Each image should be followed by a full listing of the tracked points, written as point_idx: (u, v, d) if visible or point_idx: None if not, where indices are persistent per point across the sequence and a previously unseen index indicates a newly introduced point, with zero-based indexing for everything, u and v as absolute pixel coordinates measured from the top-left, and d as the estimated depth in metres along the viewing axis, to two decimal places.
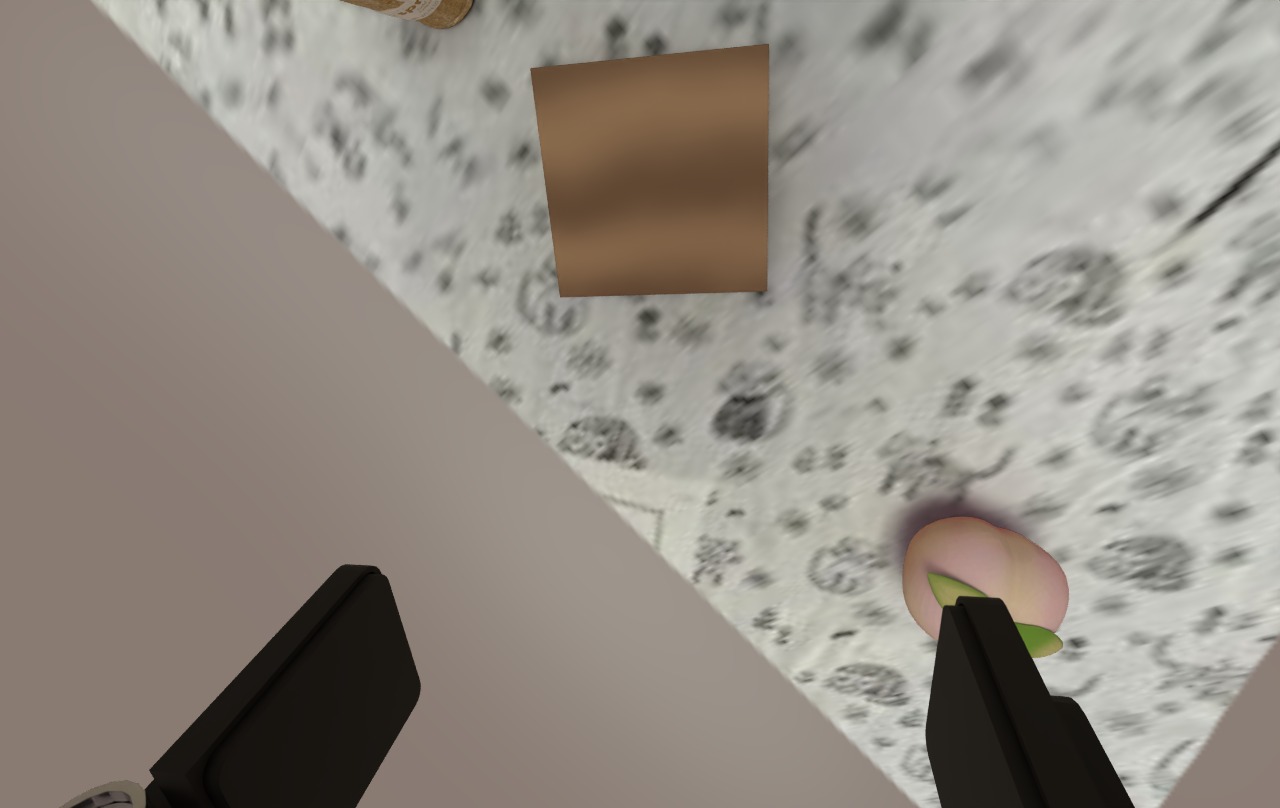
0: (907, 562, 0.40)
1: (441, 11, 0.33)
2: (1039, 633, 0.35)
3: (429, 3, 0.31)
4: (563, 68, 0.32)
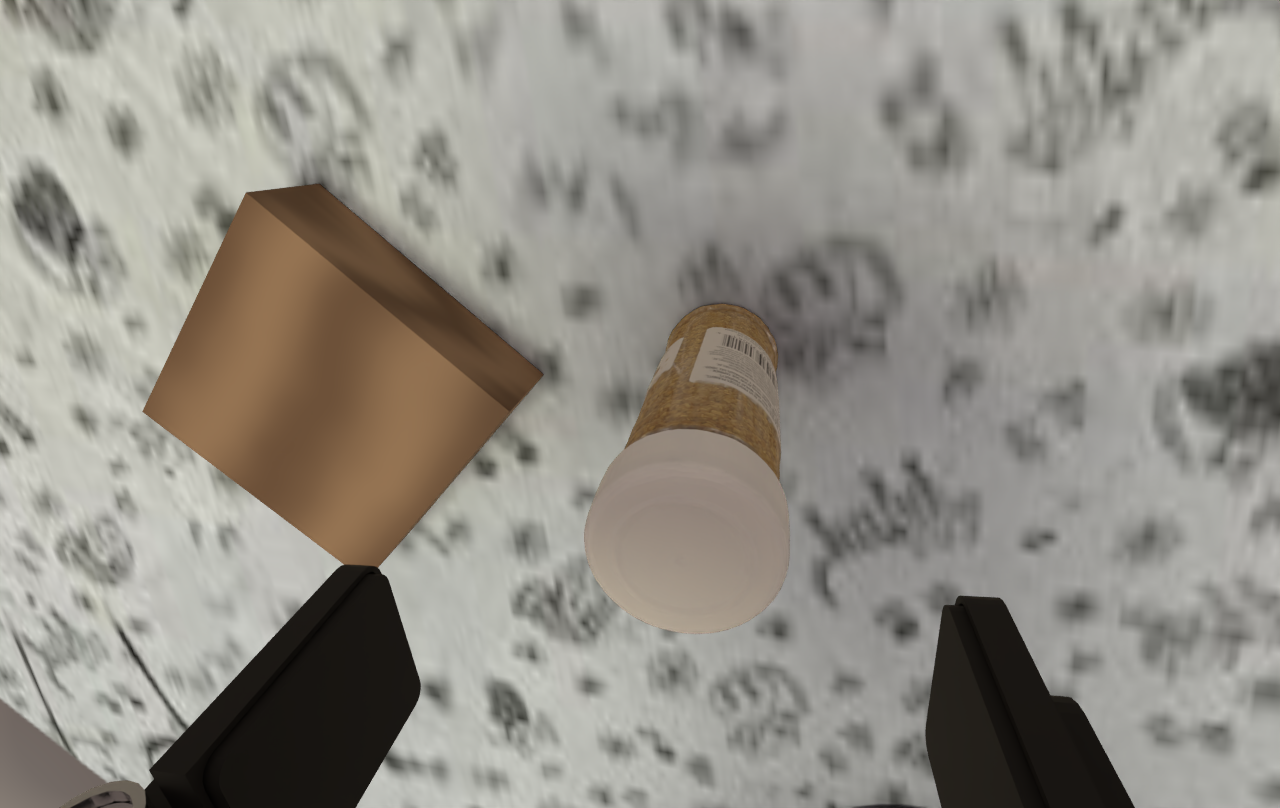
0: None
1: None
2: None
3: None
4: (481, 438, 0.24)
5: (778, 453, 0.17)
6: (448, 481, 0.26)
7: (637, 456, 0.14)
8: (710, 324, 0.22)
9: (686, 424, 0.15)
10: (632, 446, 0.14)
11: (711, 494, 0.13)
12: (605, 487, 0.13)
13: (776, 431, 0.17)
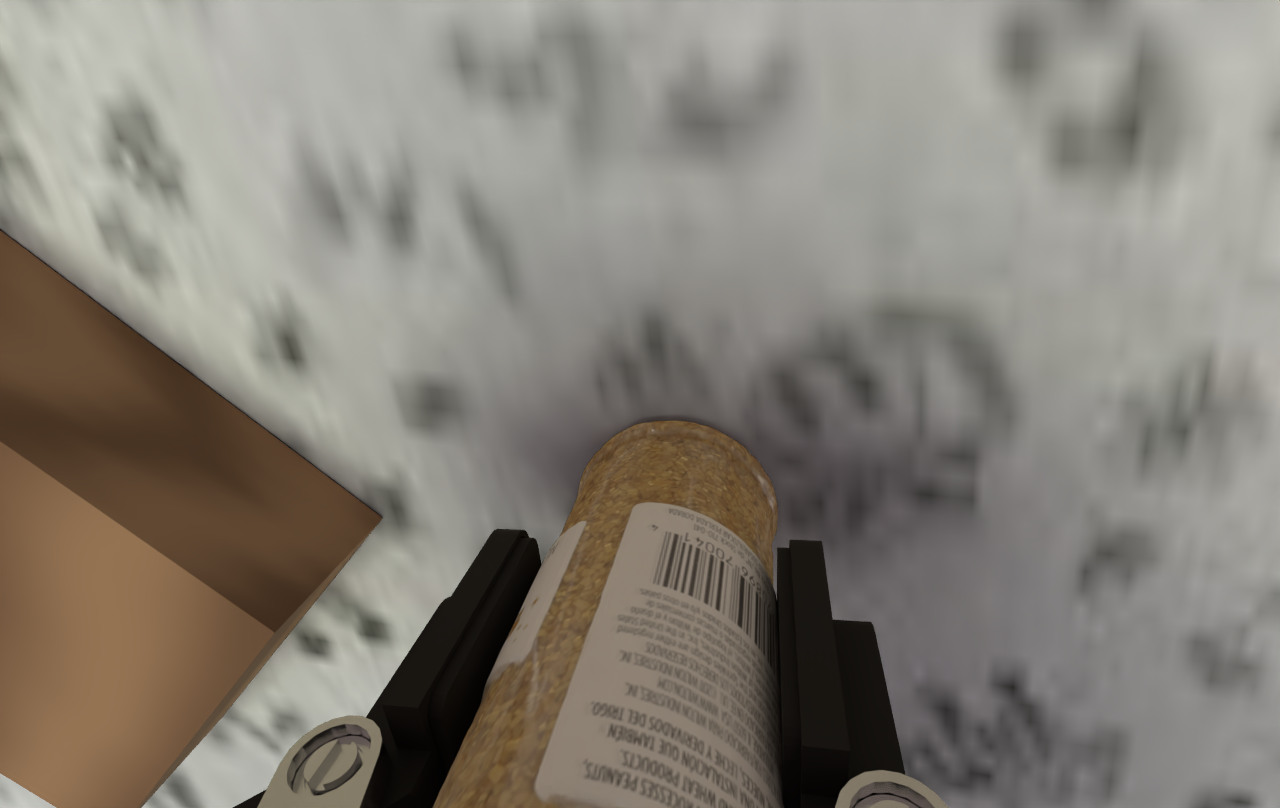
0: None
1: None
2: None
3: None
4: (237, 668, 0.13)
5: None
6: (198, 725, 0.15)
7: None
8: (644, 486, 0.11)
9: None
10: None
11: None
12: None
13: None
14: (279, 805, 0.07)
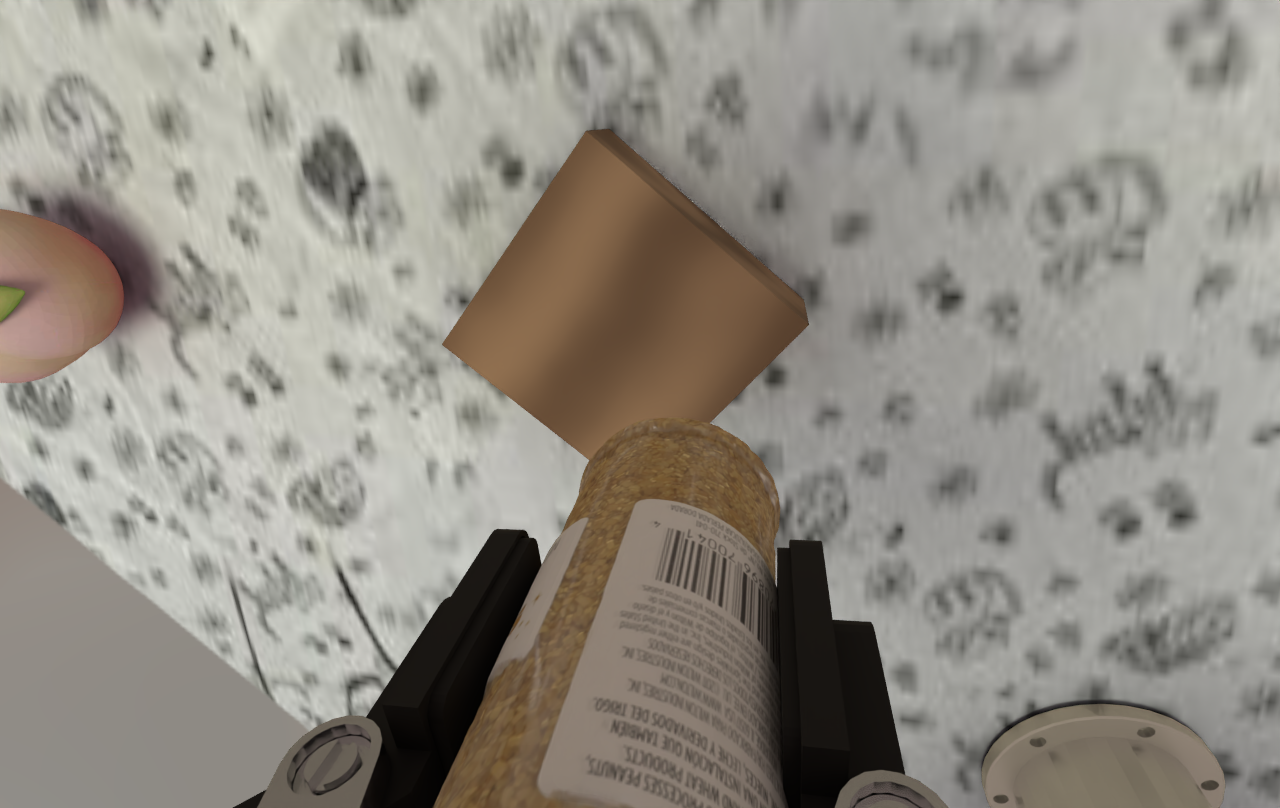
0: (59, 249, 0.31)
1: None
2: None
3: None
4: (776, 351, 0.27)
5: None
6: (735, 394, 0.28)
7: None
8: (646, 483, 0.11)
9: None
10: None
11: None
12: None
13: None
14: (279, 805, 0.07)
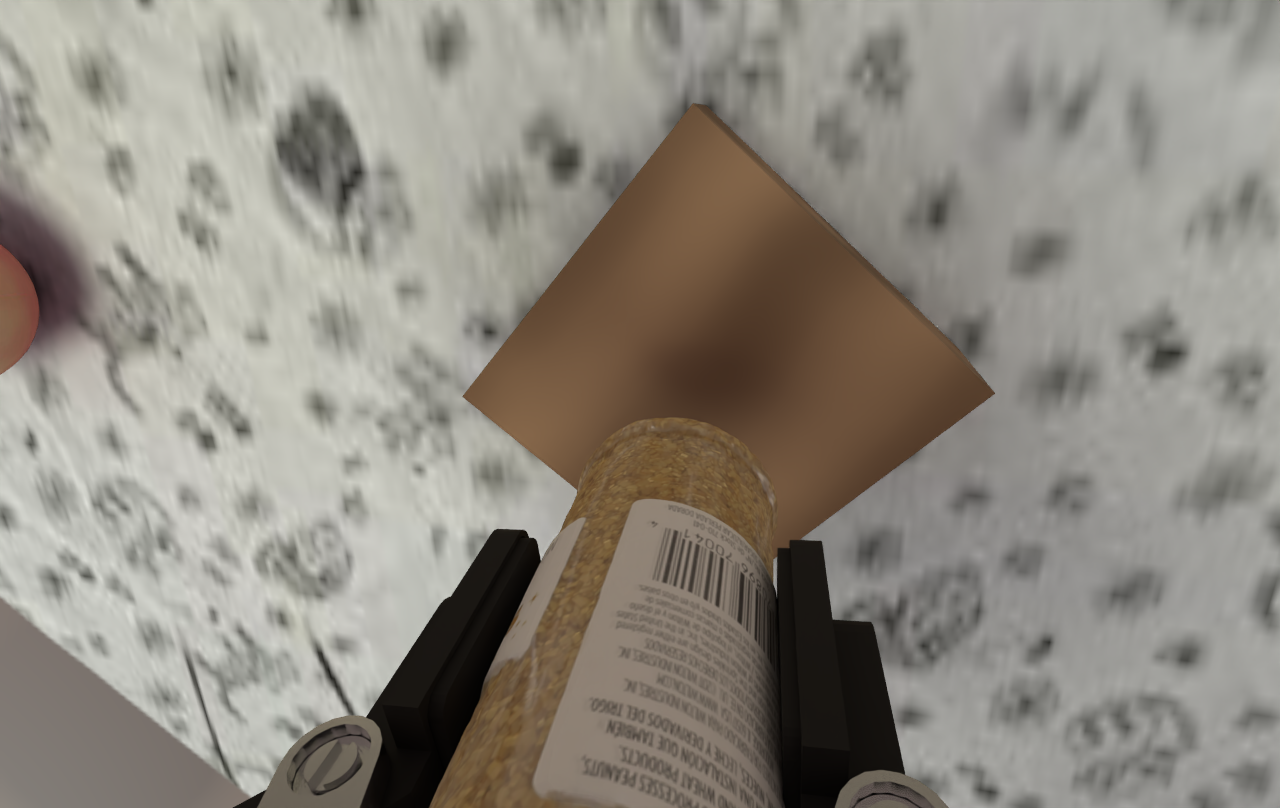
0: None
1: None
2: None
3: None
4: (941, 427, 0.19)
5: None
6: (873, 482, 0.20)
7: None
8: (643, 483, 0.11)
9: None
10: None
11: None
12: None
13: None
14: (279, 805, 0.07)
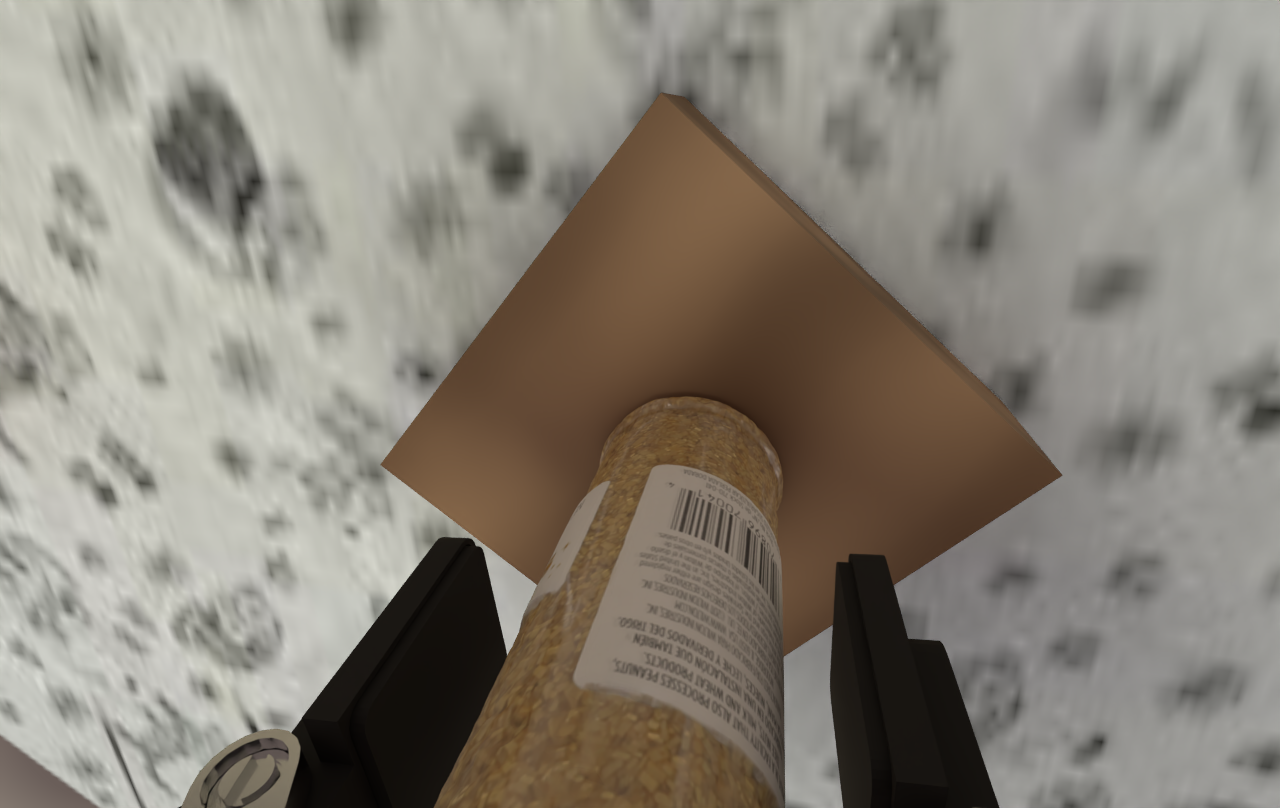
0: None
1: None
2: None
3: None
4: (989, 515, 0.15)
5: None
6: (898, 578, 0.16)
7: None
8: (661, 452, 0.12)
9: None
10: None
11: None
12: None
13: (774, 795, 0.07)
14: None
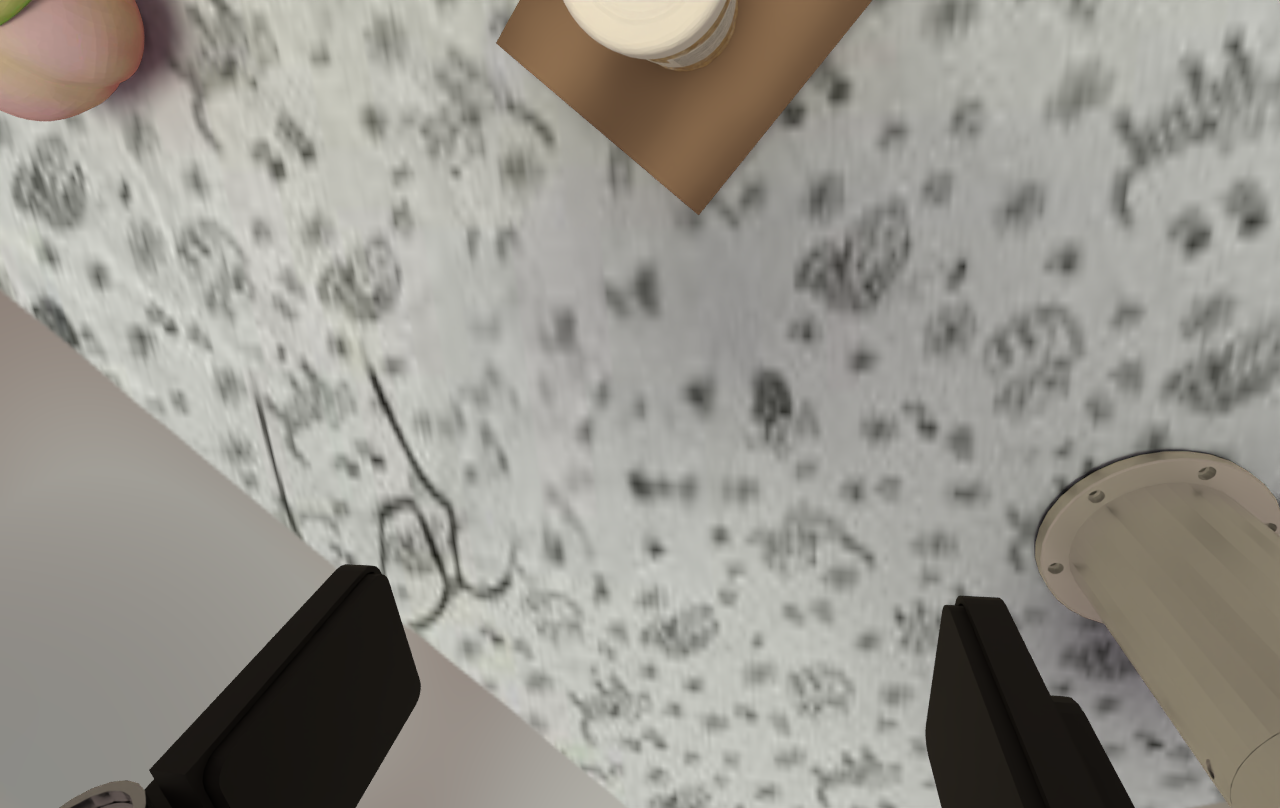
0: None
1: None
2: None
3: None
4: (855, 15, 0.26)
5: None
6: (809, 75, 0.27)
7: None
8: None
9: None
10: None
11: None
12: None
13: None
14: None
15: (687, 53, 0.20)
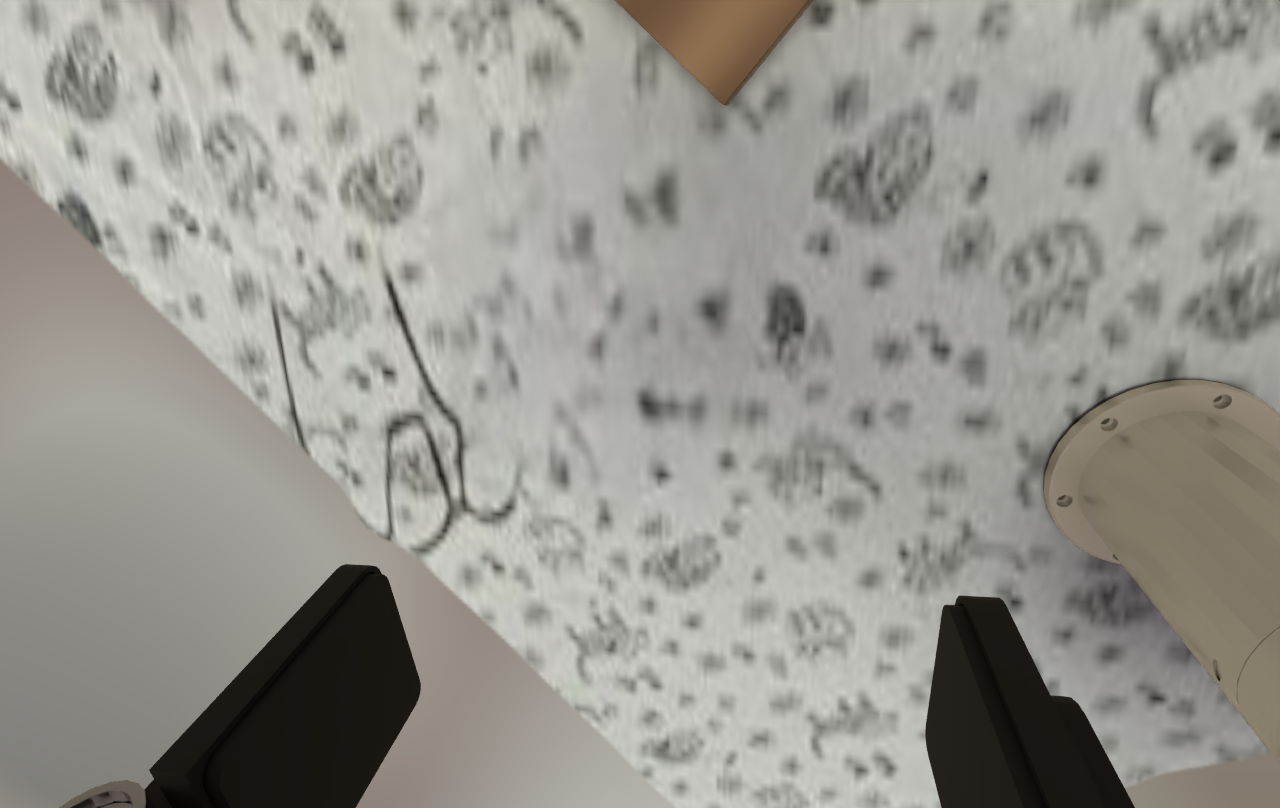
0: None
1: None
2: None
3: None
4: None
5: None
6: None
7: None
8: None
9: None
10: None
11: None
12: None
13: None
14: None
15: None
